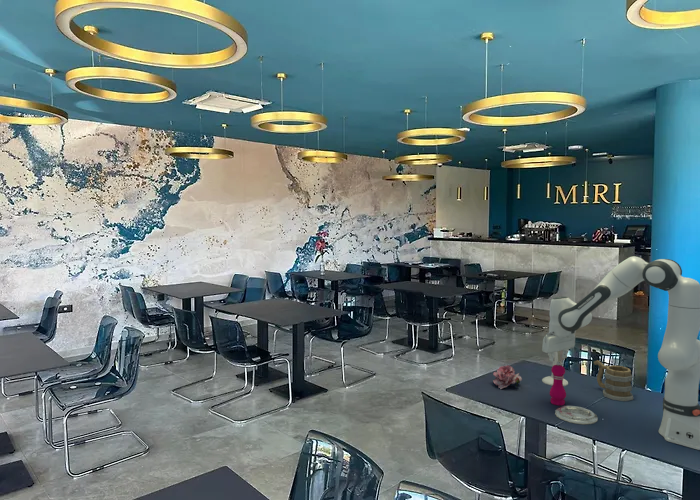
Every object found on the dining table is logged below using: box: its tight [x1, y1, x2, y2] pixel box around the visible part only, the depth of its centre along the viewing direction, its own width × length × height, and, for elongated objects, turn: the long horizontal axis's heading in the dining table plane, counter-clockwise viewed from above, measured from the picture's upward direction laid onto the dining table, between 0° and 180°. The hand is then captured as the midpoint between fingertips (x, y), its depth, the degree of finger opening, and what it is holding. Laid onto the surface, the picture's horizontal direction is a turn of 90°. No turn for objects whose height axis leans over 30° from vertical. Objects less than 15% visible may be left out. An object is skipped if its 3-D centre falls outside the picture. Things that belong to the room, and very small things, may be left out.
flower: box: [492, 364, 523, 390], centre depth 254 cm, size 15×15×10 cm
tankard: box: [593, 359, 634, 402], centre depth 242 cm, size 20×13×15 cm, turn 22°
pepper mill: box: [549, 361, 567, 407], centre depth 230 cm, size 7×7×20 cm
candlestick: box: [541, 351, 569, 387], centre depth 259 cm, size 13×13×30 cm
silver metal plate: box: [554, 405, 599, 426], centre depth 215 cm, size 17×17×2 cm
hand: (558, 359), depth 229 cm, fingers open, 8 cm apart
